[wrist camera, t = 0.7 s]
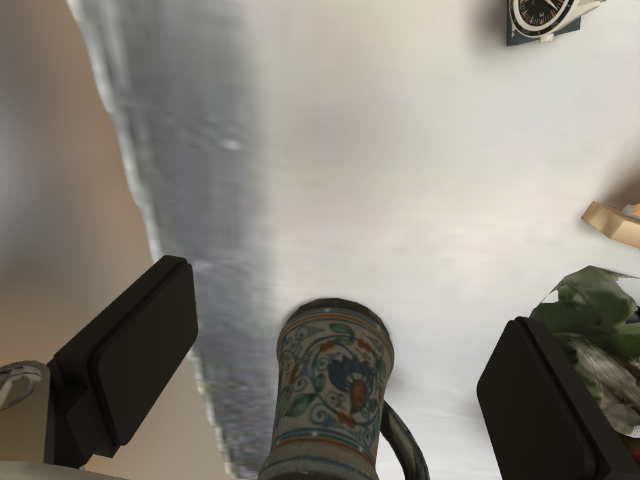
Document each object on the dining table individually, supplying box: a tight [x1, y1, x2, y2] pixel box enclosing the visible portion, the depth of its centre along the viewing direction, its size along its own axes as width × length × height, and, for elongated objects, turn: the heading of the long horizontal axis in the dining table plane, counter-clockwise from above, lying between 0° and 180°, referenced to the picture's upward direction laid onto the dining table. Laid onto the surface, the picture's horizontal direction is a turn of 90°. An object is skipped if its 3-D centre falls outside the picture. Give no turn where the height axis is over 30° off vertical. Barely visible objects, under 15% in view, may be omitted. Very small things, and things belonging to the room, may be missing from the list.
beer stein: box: [257, 298, 430, 480], centre depth 38 cm, size 16×19×25 cm
